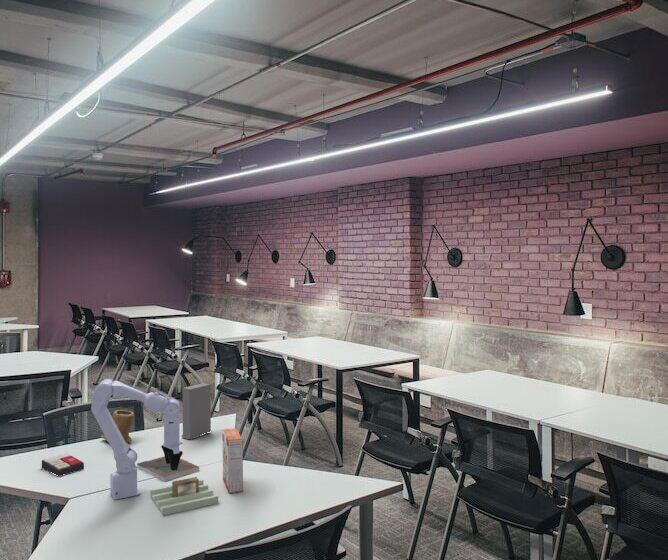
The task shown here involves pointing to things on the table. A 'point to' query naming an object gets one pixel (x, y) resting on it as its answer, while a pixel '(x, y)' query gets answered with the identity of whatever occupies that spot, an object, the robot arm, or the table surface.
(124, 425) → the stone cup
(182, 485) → the frame
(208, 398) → the upright grey panel
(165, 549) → the table surface
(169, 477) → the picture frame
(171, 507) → the green slotted rack
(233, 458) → the cracker box
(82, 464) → the red and beige box
